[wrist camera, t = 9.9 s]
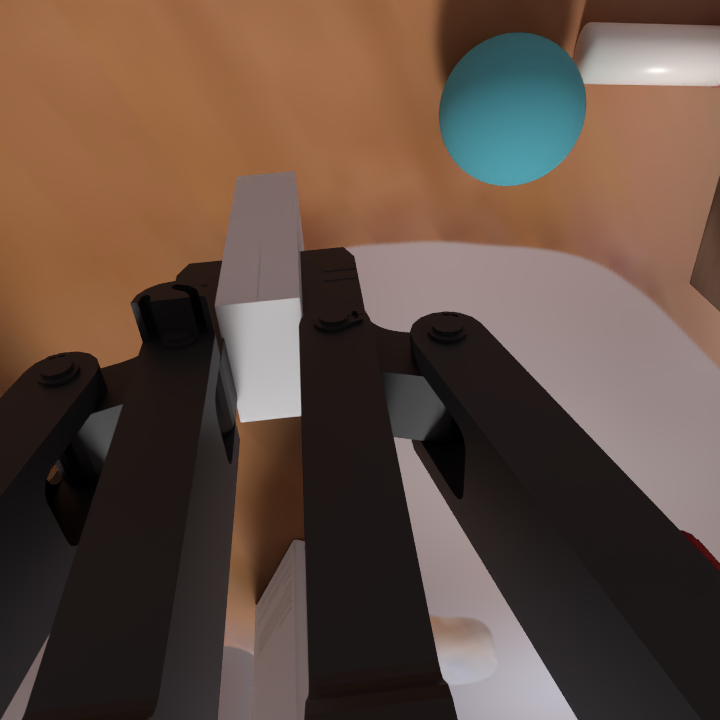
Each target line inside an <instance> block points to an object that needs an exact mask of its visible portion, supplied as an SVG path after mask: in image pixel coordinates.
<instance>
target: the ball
mask: <svg viewBox="0 0 720 720" xmlns="http://www.w3.org/2000/svg"><path fill="white" fill-rule="evenodd" d="M585 111H586V93H585V87H584V83H583V79H582V77H581V74H580V71H579V69H578V68H577V66H576V64H575V63H574V61H573V59H572V58H571V57H570V56H569V55H568V53H567V52H566V51H564V50H563V49H562V48H561V47H560V46H559V45H557V44H556V43H554V42H553V41H551V40H549V39H547V38H545V37H542V36H539V35H535V34H531V33H523V32H516V33H506V34H502V35H497V36H495V37H492V38H490V39H487V40H485V41H483V42H482V43H480V44H478V45H477V46H475V47H474V48H473V49H471V50H470V51H469V52H468V53H467V54H466V55H465V56H464V57H463V58H462V59H461V60H460V61H459V62H458V63H457V65H456V66H455V67H454V69H453V71H452V72H451V74H450V75H449V77H448V79H447V81H446V84H445V86H444V89H443V92H442V96H441V101H440V108H439V123H440V131H441V135H442V138H443V141H444V144H445V146H446V148H447V150H448V152H449V154H450V156H451V157H452V158H453V160H454V161H455V162H456V163H457V164H458V165H459V166H460V168H461V169H462V170H464V171H465V172H466V173H468V174H469V175H471V176H472V177H474V178H476V179H478V180H480V181H483V182H485V183H489V184H493V185H500V186H513V185H519V184H524V183H528V182H531V181H534V180H536V179H538V178H540V177H542V176H544V175H546V174H547V173H549V172H550V171H551V170H553V169H554V168H555V167H557V166H558V165H559V164H560V163H561V162H562V161H563V160H564V159H565V157H566V156H567V155H568V154H569V152H570V151H571V150H572V148H573V146H574V145H575V143H576V141H577V139H578V137H579V135H580V132H581V130H582V127H583V123H584V119H585Z"/></svg>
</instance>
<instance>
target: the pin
mask: <svg viewBox="0 0 720 720" xmlns="http://www.w3.org/2000/svg"><path fill="white" fill-rule="evenodd" d="M573 61H574V63H575V64H576V66H577V68H578V69H579V71H580V74H581V77H582V79H583V83H584V84H618V85H675V86H710V87H719V88H720V26H716V25H679V24H642V23H605V22H589V23H587V24H586V25H585V26H584V27H583V29H582V30H581V32H580V34H579V37H578V40H577V43H576V47H575V52H574V60H573Z"/></svg>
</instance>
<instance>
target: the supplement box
mask: <svg viewBox="0 0 720 720" xmlns="http://www.w3.org/2000/svg"><path fill="white" fill-rule="evenodd" d="M308 691H309V673H308V638H307V602H306V567H305V541H301V540H293V542H292V543H291V545H290V547H289V549H288V550H287V552H286V554H285V556H284V558H283V559H282V561H281V563H280V565H279V567H278V568H277V570H276V572H275V574H274V575H273V577H272V579H271V581H270V583H269V584H268V586H267V588H266V590H265V591H264V593H263V595H262V597H261V599H260V600H259V602H258V604H257V606H256V610H255V642H254V673H253V707H252V708H253V710H252V720H304V714H305V701H306V699H307V697H308Z"/></svg>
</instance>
